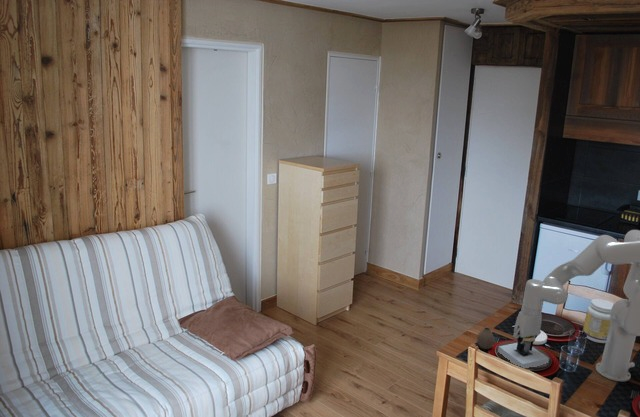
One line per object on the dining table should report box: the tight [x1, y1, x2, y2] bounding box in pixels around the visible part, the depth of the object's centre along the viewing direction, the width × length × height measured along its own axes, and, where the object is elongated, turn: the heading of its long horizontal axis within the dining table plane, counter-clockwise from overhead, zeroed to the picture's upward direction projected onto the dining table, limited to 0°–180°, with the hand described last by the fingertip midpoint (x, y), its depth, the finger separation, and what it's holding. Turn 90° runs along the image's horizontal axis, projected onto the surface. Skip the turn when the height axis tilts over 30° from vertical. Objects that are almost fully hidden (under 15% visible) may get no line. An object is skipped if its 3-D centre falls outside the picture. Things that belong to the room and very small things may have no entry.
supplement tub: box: [582, 298, 615, 344], centre depth 245 cm, size 12×12×17 cm
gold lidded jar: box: [518, 336, 535, 357], centre depth 221 cm, size 6×6×9 cm
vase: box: [476, 327, 495, 350], centre depth 231 cm, size 7×7×9 cm
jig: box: [497, 342, 550, 368], centre depth 223 cm, size 14×14×4 cm
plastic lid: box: [513, 329, 548, 346], centre depth 243 cm, size 14×14×2 cm
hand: (524, 349), depth 222 cm, fingers closed on gold lidded jar, 3 cm apart
